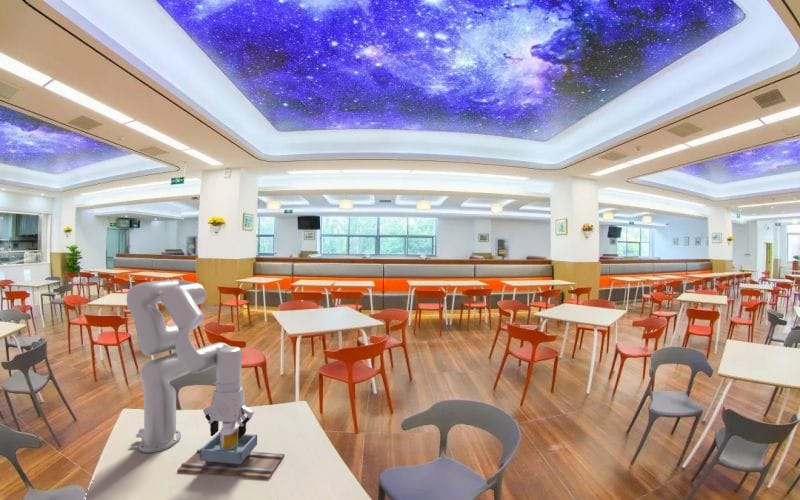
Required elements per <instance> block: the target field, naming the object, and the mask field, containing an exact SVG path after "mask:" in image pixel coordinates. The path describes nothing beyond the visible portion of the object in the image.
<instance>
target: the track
mask: <svg viewBox="0 0 800 500" xmlns="http://www.w3.org/2000/svg"><path fill="white" fill-rule="evenodd" d="M200 449H201V448H198V449H196V452H195V453H194V454H193V455H192V456H191V457H189V458H188V459H187V460H186V461H185V462H182V463H181V465H180V466H179V467H178V468H177V472H178V473H187V474H189V473H190V474H199V475H200V474H202V475H203V474H204V475H214V476H215V475H216V476H227V477H238V478H239V477H240V478H248V479H249V478H251V479H264V480H270V479H271V477H272V475H273V474H274V472H275V471H276V470H277V468H278V467H279V465H280V464H281V462H282V461H283V459H284V457H285V453H275V452H262V451H260V452H259V451H251V452H250V453H249V455H248V456H247V457H246V458H245V459H244V460H243V462H242V463H241V464H240V465H239V466H238V467H237V468H234V467H232V463H222V462H214V463H213V464H212V465H211V466H207V465H206V463H205V461H199V450H200Z"/></svg>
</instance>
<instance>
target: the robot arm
mask: <svg viewBox="0 0 800 500" xmlns="http://www.w3.org/2000/svg"><path fill="white" fill-rule="evenodd" d="M206 299H207V291H206V289H205V288H204V286H203V285H201V284H200V283H198V282H194V281H188V280H185V279H184V280H183V279H165V280H154V281H153V280H152V281H145V282H141V283H137V284H134V285H133V286H132V287H130V288H129V290H128V291H127V295H126V305H127V309H128V311H129V313H130V314H131V316H132V319H133V321H134V325H135V328H136V332H137V338H138V342H139V347H140V350H141V353H142V354H143V355H145V356H149V357H150V356H155V355H159V354H162V353H163V354H164V353H166V352H169V351H172V353H170V354H166V355H163V356H160V357H157V358H154V359H151V360H149V361H147V362H146V363H145V364H144V365H142V367H141V368H140V375H139V376H140V380H141V385H142V389H143V408H144V410H143V416H144V417H143V419H144V421H143V423H144V424H143V425H144V426H143V427H142V428H140V429H139V430H138V431H137V433H136V435H135V438H136V439H137V438H141V441H140V442H139V444H138V451H140V452H141V453H145V454H150V453H157V452H160V451H164V450H166V449H168V448H170V447H173V446H174V445H176V444H177V443H178V442H179V441H180V440H181V437H182V434H181V433H182V432H181V431H180V430H178V429H177V392H176V388H174V386H172V385H171V384H170V382H171V381H174V380H176V379H179V378H181V377H184V376H186V375H188V374H189V373H190V374H199V373H202V372H205V371H206V370H209V369H212V368H215V367H216V372H215V373H216V374H215V380H213V382H212V384H213V385H215V388H214V389H213V392H212V395H211V400H210V405H209V406H206V407H205V408H204V409H202V410H203V414H204V418H205V419H206V420H207V421H208V422H207V423H208V424H209V427H210V428H209V431H210V437H214V436H215V435H217V434H218V433H219V424H220V423H219V422H222V423H223V422H236V423H237V425H239V426H238V438H241V437H242V436H243V435H244V434H247V433H246V432H247V423H248V422H249V421H250V420H251V419H252V417H253V415H254V414H255V412H254V410H252V409H250V408H248V407H247V406H246V396H245V391H244V388H243V386H242V367H243V366H242V363H243V362H242V361H243V360H242V359H243V357H242V356H243V355H242V349H241V348H240V347H238V346H231V345H229V344H227V343H225V342H214V343H212V344H208V345H206V346H202V347H199V348H195V346H194V344H193V343H192V339H191V332H193V331H194V330H196V328H198V327H199V326H200V325H202V323H203V322H204V320H205V315H204V313H203V312H202V310H201V309H200V306H199V305H203V303H204V302H205V301H206ZM157 304H163V306H164V308H165V310H166V311H167V313H168V314H169V316H170V318H171V319H172V321H173V324H169V325H166V323H165V318H164V314H163V313H162V311H160V309H158V308H157V307H155V306H154V305H157Z"/></svg>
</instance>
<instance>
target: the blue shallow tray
mask: <svg viewBox="0 0 800 500" xmlns="http://www.w3.org/2000/svg"><path fill="white" fill-rule="evenodd" d="M257 445H258V434H254V433H253V434H251V433H249V434H248V433H245V434H244V435H243V436H242V437H241V438H238V448H237V449H236V450H235V451H228V450H220V432H219V431H218V432H217V433H216V434H215V435H214V436H212V438H211V439H210V440H209V441H208V442H207V443H206V444H204V446H202V447H200V448H199V449H200V450H199V461H205V463H206V465H207V466H211V465H212V464H213V463H214V462H222V463H232V467H234V468H237V467H238V466H239V465H240V464H241V463H242V462H243V460H244V459H245V458H246V457H247V456H248V455H249V453H250V452H253V450H254V449H255V448H256V447H257Z"/></svg>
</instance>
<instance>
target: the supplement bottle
mask: <svg viewBox="0 0 800 500" xmlns="http://www.w3.org/2000/svg"><path fill="white" fill-rule="evenodd" d="M221 426H222V427H221V428H220V429H219V431H220V450H228V451H235V450H236V449H237V448H238V427H239V426H238V424H237V422H222V425H221Z"/></svg>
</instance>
